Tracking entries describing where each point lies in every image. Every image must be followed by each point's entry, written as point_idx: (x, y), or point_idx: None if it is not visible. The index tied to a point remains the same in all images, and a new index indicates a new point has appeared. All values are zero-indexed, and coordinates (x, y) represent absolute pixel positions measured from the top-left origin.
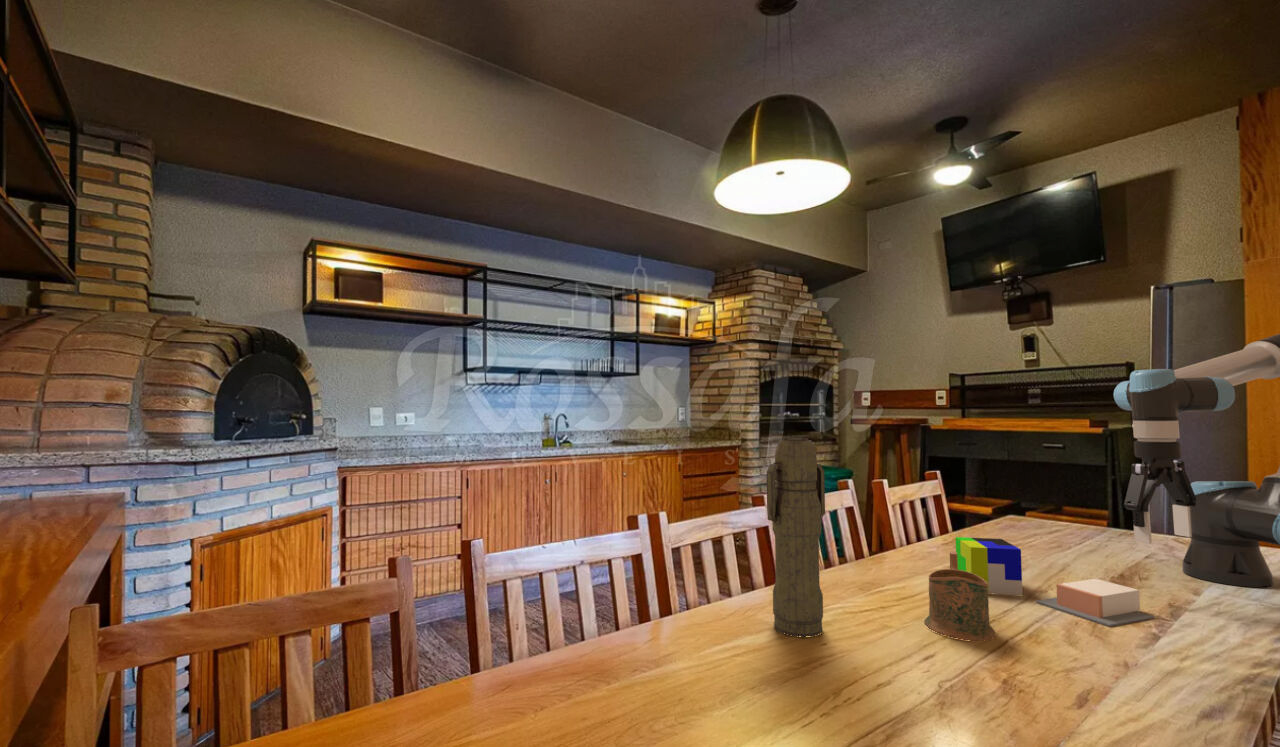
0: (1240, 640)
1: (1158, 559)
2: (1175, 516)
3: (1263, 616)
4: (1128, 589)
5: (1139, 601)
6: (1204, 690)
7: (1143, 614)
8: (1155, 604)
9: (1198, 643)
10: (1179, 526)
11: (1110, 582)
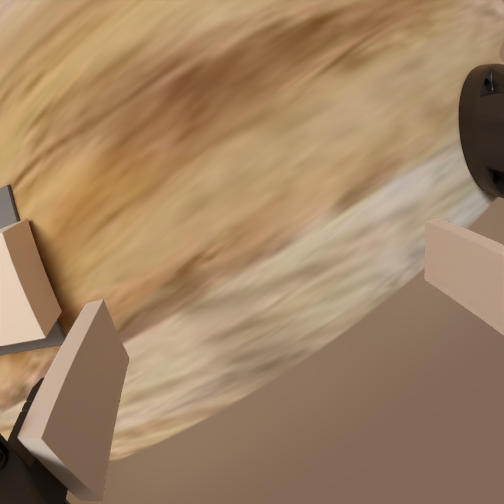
0: (137, 425)
1: (489, 7)
2: (493, 264)
3: (316, 344)
4: (23, 330)
5: (54, 322)
6: None
7: (52, 332)
8: (148, 262)
9: None
10: (455, 258)
11: (16, 272)
